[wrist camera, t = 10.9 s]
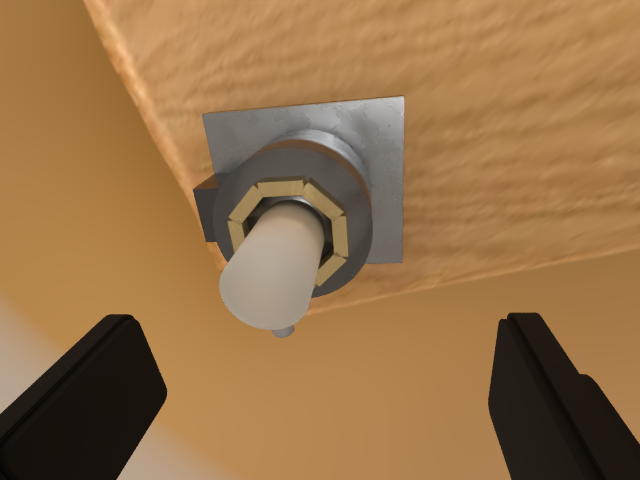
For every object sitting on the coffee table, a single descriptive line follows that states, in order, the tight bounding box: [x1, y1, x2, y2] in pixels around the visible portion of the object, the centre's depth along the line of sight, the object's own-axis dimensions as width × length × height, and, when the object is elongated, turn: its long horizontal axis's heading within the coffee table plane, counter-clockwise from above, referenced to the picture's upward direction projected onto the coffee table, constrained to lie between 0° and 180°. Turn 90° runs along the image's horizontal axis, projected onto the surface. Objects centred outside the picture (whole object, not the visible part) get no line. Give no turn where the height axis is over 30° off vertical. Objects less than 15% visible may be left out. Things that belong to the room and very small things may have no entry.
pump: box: [219, 199, 326, 338], centre depth 23 cm, size 5×7×8 cm
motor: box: [193, 95, 404, 298], centre depth 30 cm, size 18×16×12 cm
